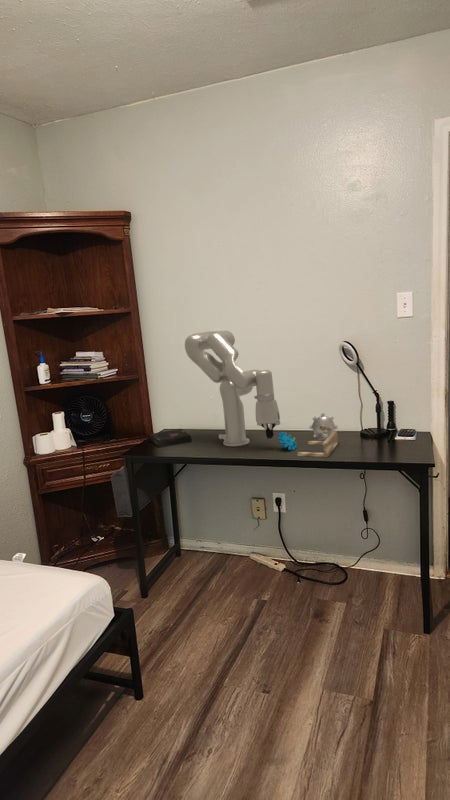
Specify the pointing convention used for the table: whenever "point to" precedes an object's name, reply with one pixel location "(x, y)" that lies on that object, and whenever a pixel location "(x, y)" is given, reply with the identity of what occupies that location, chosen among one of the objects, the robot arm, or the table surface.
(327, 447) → the gear bay
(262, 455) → the table surface
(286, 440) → the blue spiky oval
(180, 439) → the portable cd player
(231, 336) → the robot arm
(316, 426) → the gear
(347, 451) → the table surface
